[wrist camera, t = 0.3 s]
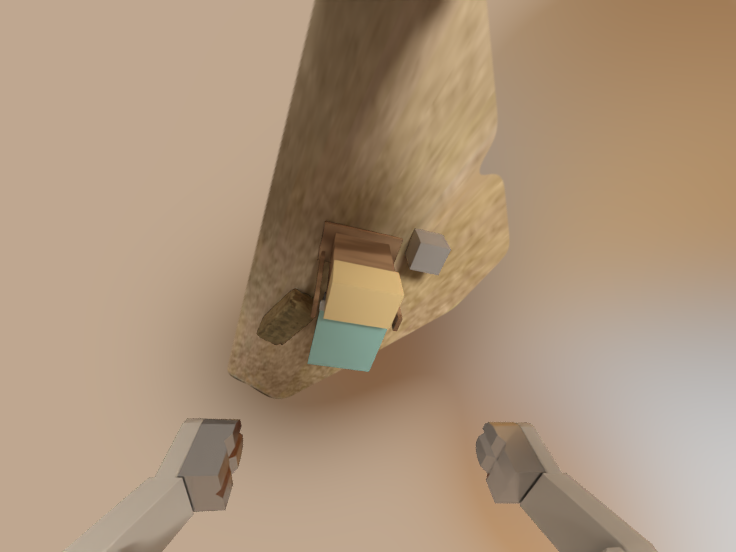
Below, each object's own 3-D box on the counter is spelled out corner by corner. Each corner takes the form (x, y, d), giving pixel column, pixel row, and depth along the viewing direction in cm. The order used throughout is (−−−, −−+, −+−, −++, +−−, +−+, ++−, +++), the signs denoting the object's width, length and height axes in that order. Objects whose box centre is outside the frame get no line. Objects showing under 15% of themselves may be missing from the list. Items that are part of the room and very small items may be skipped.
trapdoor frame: (325, 220, 47) (316, 272, 35) (402, 238, 49) (418, 291, 37) (317, 259, 51) (307, 316, 39) (388, 273, 53) (399, 331, 41)
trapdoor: (329, 258, 38) (326, 281, 34) (403, 273, 40) (409, 296, 36) (308, 348, 48) (304, 374, 44) (369, 357, 50) (370, 382, 46)
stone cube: (415, 228, 48) (420, 242, 44) (442, 234, 49) (451, 249, 45) (404, 253, 51) (409, 269, 47) (431, 259, 52) (438, 275, 48)
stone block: (260, 318, 58) (253, 336, 54) (294, 283, 54) (290, 301, 50) (284, 331, 61) (279, 350, 57) (319, 299, 56) (317, 317, 52)
